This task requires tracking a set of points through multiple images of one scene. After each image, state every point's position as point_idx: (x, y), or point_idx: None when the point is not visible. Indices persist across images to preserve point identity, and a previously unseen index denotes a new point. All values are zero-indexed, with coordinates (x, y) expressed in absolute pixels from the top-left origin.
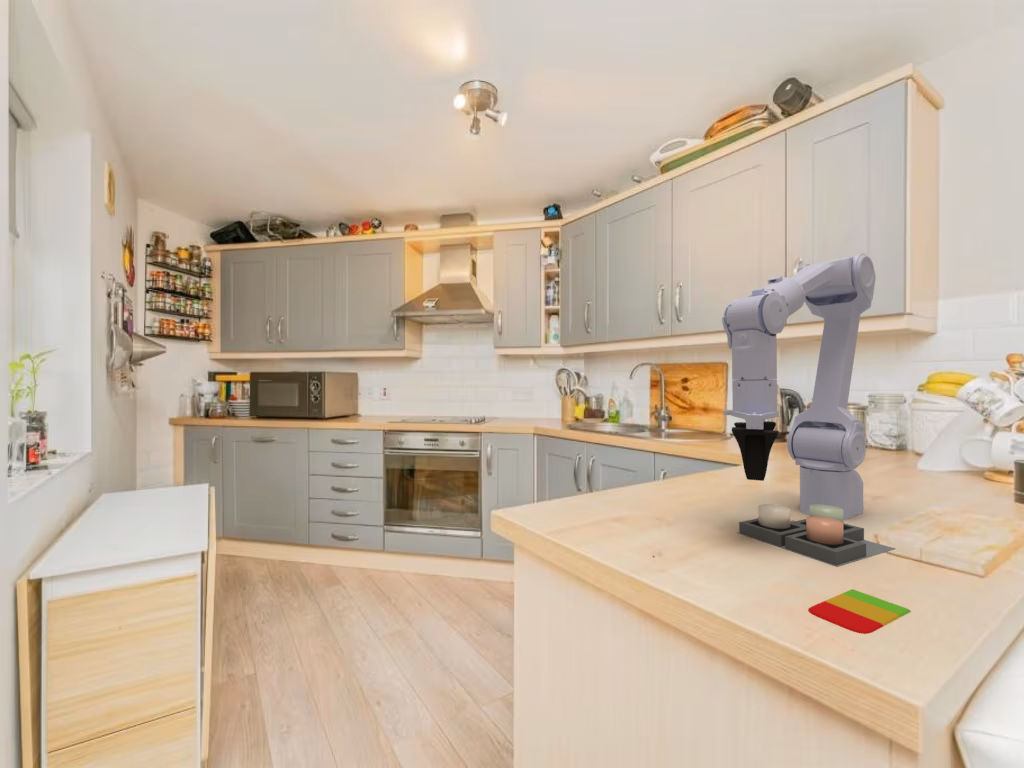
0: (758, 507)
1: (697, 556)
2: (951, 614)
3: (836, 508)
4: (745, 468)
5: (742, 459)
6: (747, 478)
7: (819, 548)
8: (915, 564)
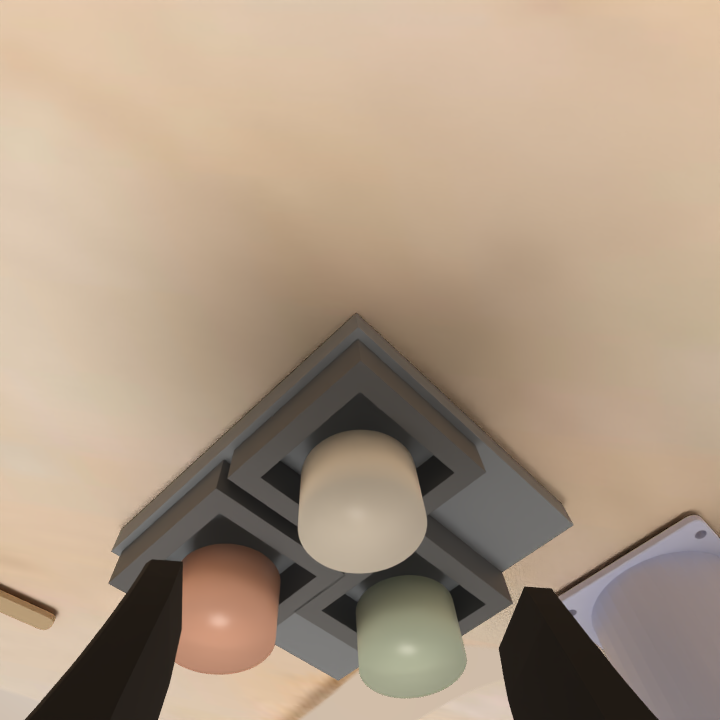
0: (364, 473)
1: (88, 138)
2: (8, 654)
3: (414, 686)
4: (107, 621)
5: (63, 680)
6: (144, 566)
7: (139, 552)
8: (302, 674)
